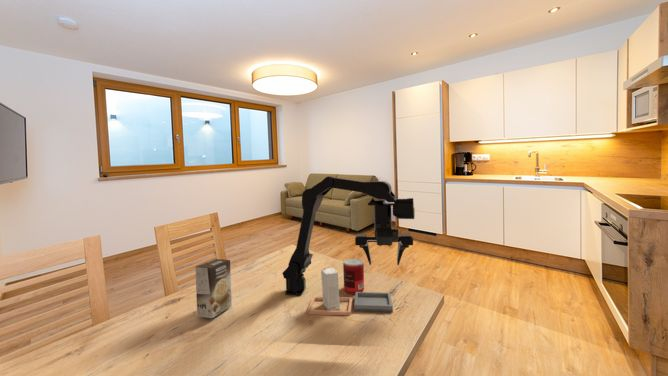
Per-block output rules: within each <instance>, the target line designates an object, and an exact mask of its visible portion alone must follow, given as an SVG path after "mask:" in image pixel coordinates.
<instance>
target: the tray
mask: <svg viewBox="0 0 668 376" xmlns="http://www.w3.org/2000/svg"><path fill="white" fill-rule="evenodd" d="M354 296H355V297H354V305H353V307H354V311H353V312H371V313H373V312H374V313H393V312H394V311H393V300H392V296H391V292H384V291H383V292H382V291H381V292H377V291H376V292H375V291H374V292H372V291H363V292H356V294H354Z"/></svg>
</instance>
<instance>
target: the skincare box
mask: <svg viewBox="0 0 668 376" xmlns="http://www.w3.org/2000/svg"><path fill="white" fill-rule="evenodd" d="M320 274H321V275H320V276H321V289H322V297H323V300H322V302H323V303H322V304H323V305H324V307H325V310H334V311H340V309H341V306H340V305H341V301H339V297H340V287H339V272H338V271H337V270H335V269H334V268H333V267H328V268H323V269H321V273H320Z"/></svg>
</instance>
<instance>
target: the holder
mask: <svg viewBox="0 0 668 376" xmlns="http://www.w3.org/2000/svg"><path fill="white" fill-rule="evenodd" d="M316 301H323V296H313V297H312V299H311V301H310V303H309V305H308V308H307V310H306V313H307V314H309V315H322V316H323V315H326V316H328V315H329V316H349V315H350V316H351V315H352V306H353V297H350V296H348V297H347V296H339V301H340V302H349V303H348V308H347V309H348V310H327V309H324V310H322V309H313V306H314V304H315V302H316Z"/></svg>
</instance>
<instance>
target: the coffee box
mask: <svg viewBox="0 0 668 376" xmlns="http://www.w3.org/2000/svg"><path fill="white" fill-rule="evenodd" d="M231 276H232V275H231V260H230V259H225V258H224V259H223V258H220V259H218V258H214V259H212V260H210V261H206V262H204V263H201V264H197V265H195V289H196V291H195V293H196V295H195V296H196V316H197V317H202V318H207V319H213V318H215V317H216V316H218V315H220V314H221V313H223V312H224V311H226V310H228V309H229V308H231V307H232V306H233V305H232V303H233V301H232V300H233V299H232V282H231V281H232V280H231V279H232V277H231Z"/></svg>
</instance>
